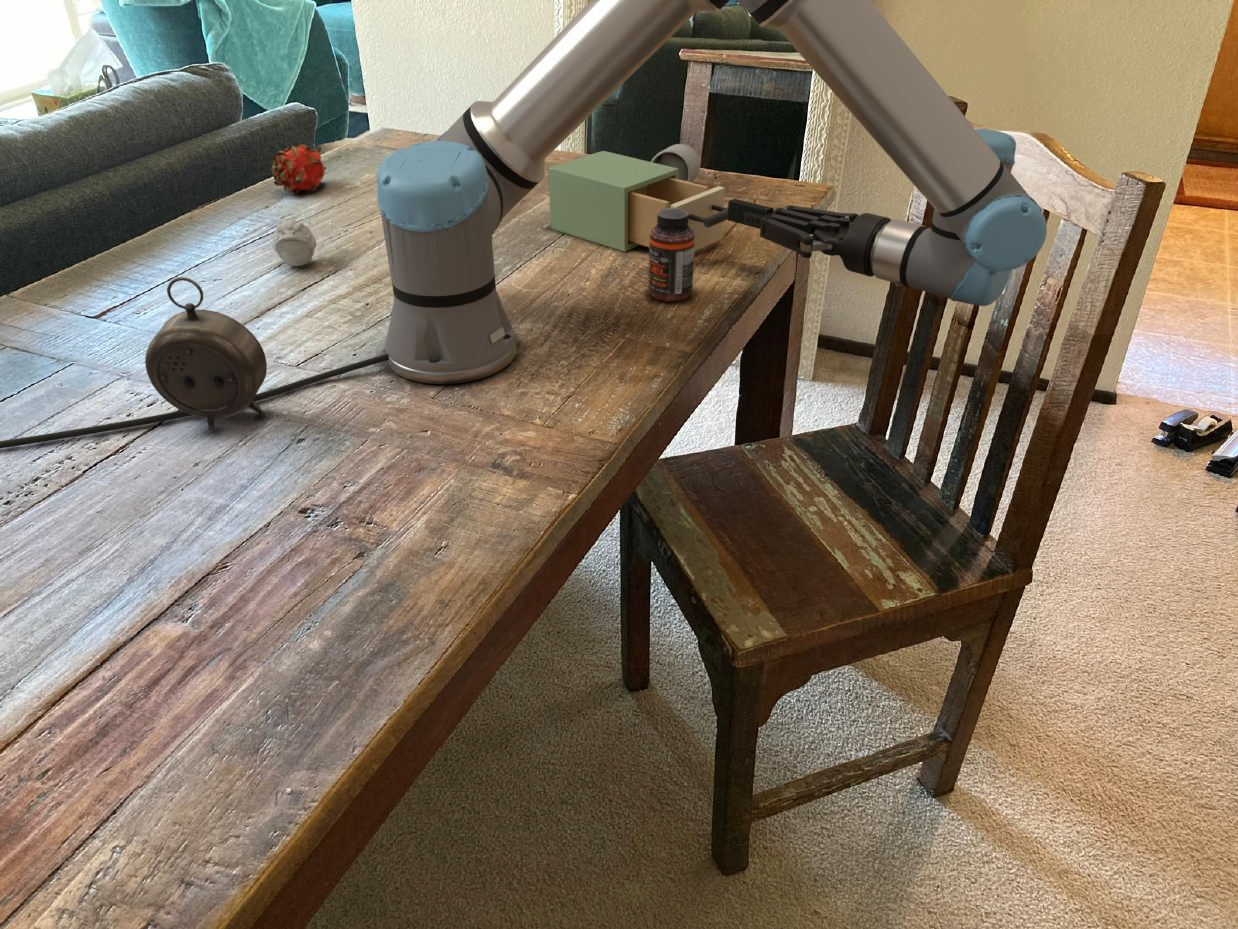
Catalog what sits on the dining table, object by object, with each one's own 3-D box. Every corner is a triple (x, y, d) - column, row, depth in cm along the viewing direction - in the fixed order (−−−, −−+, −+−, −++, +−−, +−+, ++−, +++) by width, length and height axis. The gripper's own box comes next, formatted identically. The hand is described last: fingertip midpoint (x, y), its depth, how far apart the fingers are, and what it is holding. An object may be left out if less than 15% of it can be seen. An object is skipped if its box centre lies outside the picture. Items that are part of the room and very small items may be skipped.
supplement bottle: (639, 294, 125) (639, 212, 119) (668, 282, 129) (670, 201, 123) (671, 307, 122) (674, 223, 116) (701, 294, 125) (705, 212, 119)
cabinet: (677, 229, 146) (678, 168, 141) (624, 251, 139) (624, 187, 133) (604, 208, 155) (603, 150, 150) (550, 228, 147) (548, 167, 142)
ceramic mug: (701, 184, 166) (703, 140, 161) (689, 198, 159) (690, 152, 155) (645, 179, 169) (645, 136, 164) (631, 193, 162) (630, 148, 158)
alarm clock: (280, 408, 100) (245, 266, 91) (264, 434, 96) (226, 288, 87) (179, 409, 100) (135, 267, 91) (158, 435, 96) (110, 289, 87)
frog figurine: (274, 276, 131) (263, 228, 127) (279, 258, 137) (269, 212, 133) (318, 273, 132) (309, 225, 128) (322, 255, 138) (313, 209, 134)
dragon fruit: (278, 209, 160) (320, 199, 170) (309, 183, 156) (350, 174, 166) (249, 165, 159) (293, 157, 169) (279, 138, 155) (322, 131, 165)
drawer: (745, 245, 138) (748, 193, 134) (698, 267, 131) (701, 212, 127) (649, 217, 148) (649, 168, 144) (601, 236, 141) (600, 185, 137)
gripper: (853, 291, 115) (701, 247, 128) (902, 261, 123) (755, 223, 136) (861, 233, 111) (704, 193, 124) (912, 206, 119) (759, 172, 132)
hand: (731, 209), depth 130 cm, fingers closed
